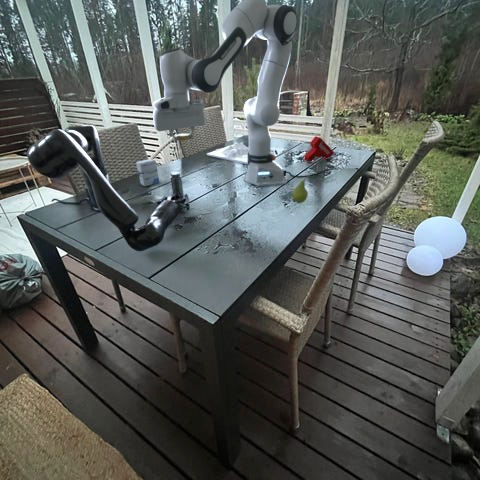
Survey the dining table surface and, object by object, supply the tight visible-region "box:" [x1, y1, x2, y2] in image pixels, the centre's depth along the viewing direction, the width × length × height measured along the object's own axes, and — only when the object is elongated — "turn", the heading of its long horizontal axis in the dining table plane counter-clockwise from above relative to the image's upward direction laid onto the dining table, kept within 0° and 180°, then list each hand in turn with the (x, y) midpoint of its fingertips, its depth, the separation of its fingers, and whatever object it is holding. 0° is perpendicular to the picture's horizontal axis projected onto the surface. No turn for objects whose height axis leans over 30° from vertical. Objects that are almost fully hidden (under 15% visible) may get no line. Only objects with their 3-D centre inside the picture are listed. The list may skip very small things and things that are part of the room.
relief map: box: [206, 141, 272, 165], centre depth 185 cm, size 27×35×5 cm
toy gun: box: [303, 135, 335, 164], centre depth 171 cm, size 18×4×15 cm
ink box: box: [135, 158, 160, 187], centre depth 139 cm, size 8×5×12 cm, turn 135°
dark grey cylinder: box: [170, 171, 187, 215], centre depth 110 cm, size 4×4×17 cm
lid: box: [175, 133, 191, 142], centre depth 109 cm, size 5×5×2 cm
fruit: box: [291, 174, 311, 204], centre depth 118 cm, size 7×8×12 cm
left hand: (180, 195), depth 113 cm, fingers closed on dark grey cylinder, 4 cm apart
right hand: (183, 139), depth 109 cm, fingers closed on lid, 5 cm apart
